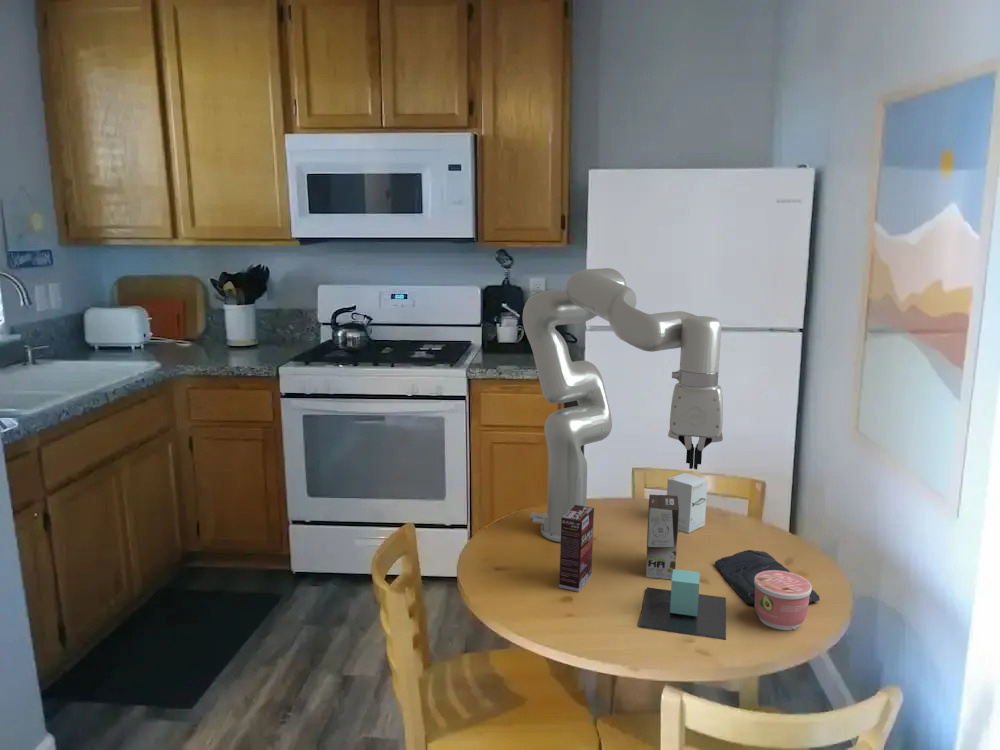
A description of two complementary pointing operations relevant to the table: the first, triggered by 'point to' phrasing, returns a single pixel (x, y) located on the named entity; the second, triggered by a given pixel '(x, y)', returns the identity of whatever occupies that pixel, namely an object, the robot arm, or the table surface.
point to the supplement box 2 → (689, 500)
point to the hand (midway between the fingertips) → (693, 466)
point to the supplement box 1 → (576, 548)
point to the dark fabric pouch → (749, 572)
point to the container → (781, 598)
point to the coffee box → (662, 536)
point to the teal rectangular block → (684, 592)
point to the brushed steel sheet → (704, 624)
